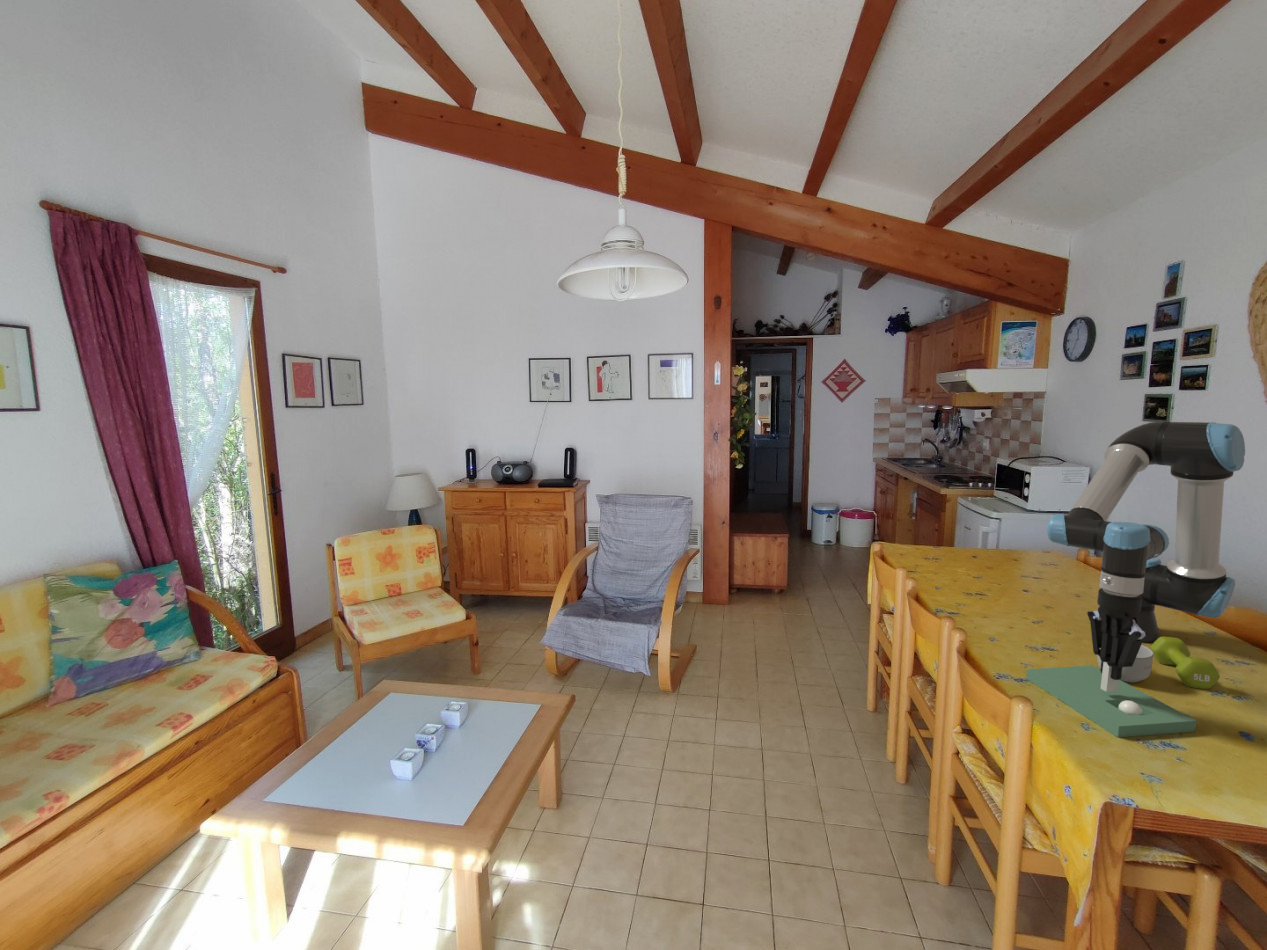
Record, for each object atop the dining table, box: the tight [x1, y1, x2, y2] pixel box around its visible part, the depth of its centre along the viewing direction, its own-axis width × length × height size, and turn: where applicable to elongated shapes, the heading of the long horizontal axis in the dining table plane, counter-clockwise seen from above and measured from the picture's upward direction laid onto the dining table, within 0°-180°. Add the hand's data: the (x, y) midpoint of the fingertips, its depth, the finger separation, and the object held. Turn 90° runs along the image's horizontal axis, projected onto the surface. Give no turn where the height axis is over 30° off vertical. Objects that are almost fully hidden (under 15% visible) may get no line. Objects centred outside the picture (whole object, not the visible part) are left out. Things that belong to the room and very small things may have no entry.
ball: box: [1118, 700, 1142, 715], centre depth 126 cm, size 4×4×4 cm
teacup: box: [1096, 644, 1154, 683], centre depth 146 cm, size 14×11×8 cm
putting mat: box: [1025, 665, 1198, 738], centre depth 133 cm, size 18×25×2 cm
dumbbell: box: [1149, 636, 1221, 690], centre depth 146 cm, size 16×8×7 cm, turn 159°
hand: (1108, 689), depth 132 cm, fingers closed
